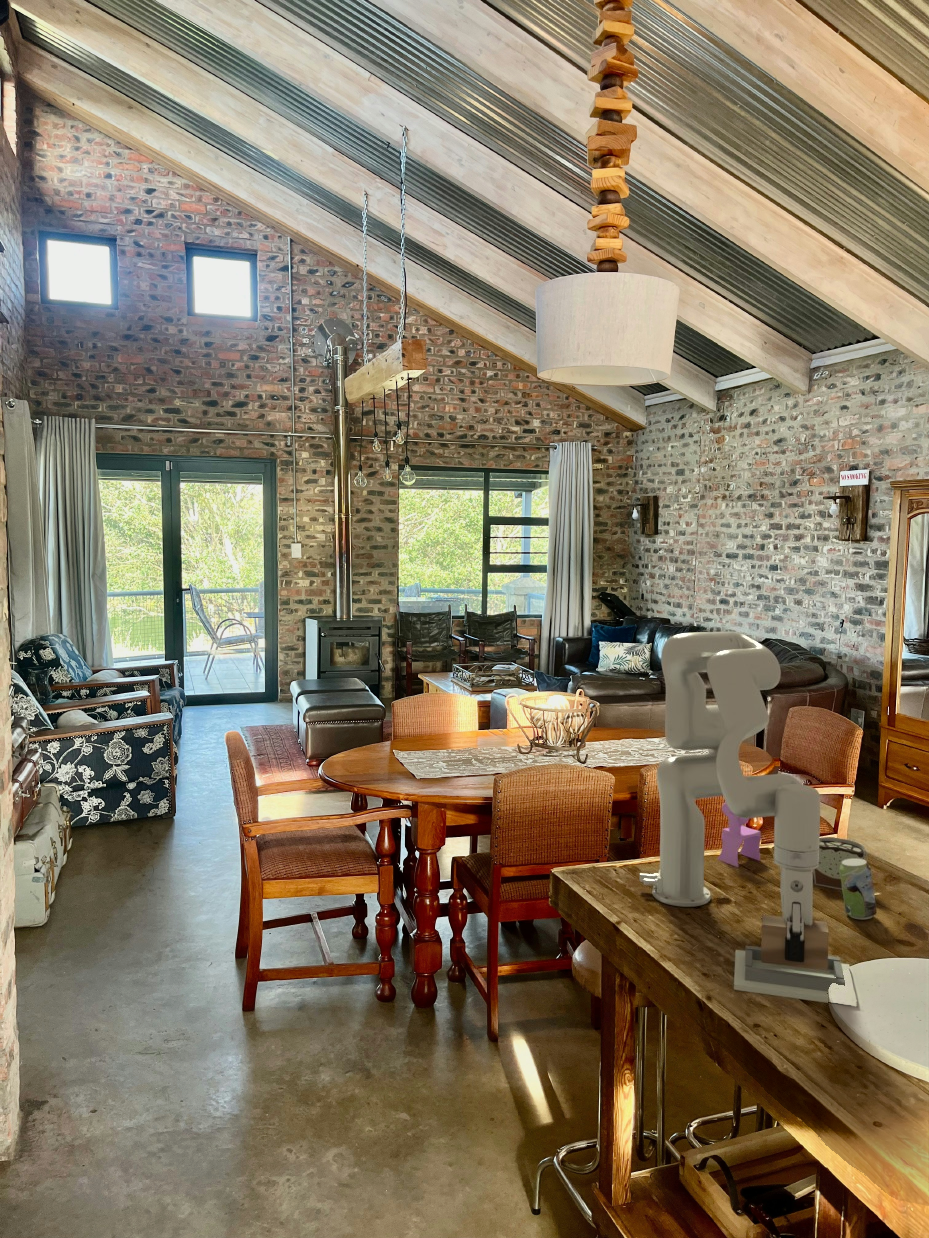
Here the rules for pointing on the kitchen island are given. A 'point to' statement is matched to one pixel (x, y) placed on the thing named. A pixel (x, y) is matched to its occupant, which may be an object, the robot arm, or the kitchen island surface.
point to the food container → (835, 860)
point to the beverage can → (857, 888)
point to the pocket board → (785, 977)
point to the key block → (813, 948)
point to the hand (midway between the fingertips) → (793, 953)
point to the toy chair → (738, 839)
